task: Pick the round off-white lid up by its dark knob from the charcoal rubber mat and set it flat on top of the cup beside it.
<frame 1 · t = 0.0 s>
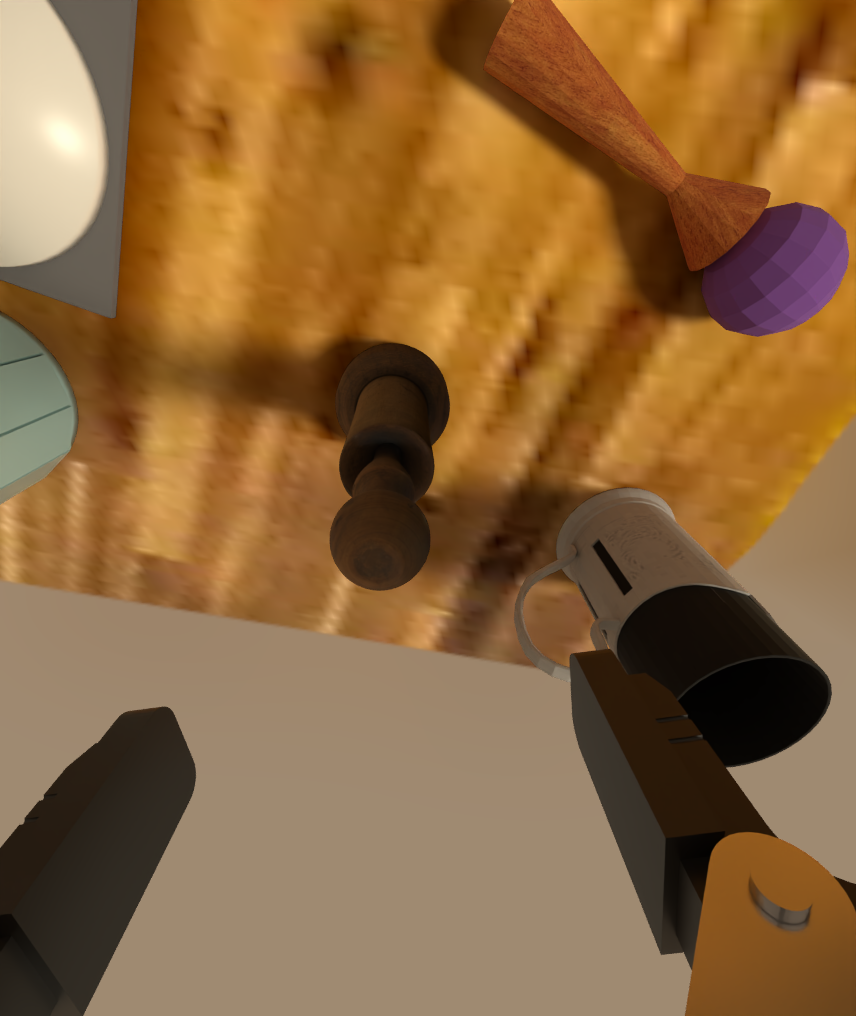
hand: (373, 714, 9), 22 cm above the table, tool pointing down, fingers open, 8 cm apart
glass holder: (579, 535, 34), on the table
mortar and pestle: (393, 397, 29), on the table
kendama: (646, 188, 25), on the table
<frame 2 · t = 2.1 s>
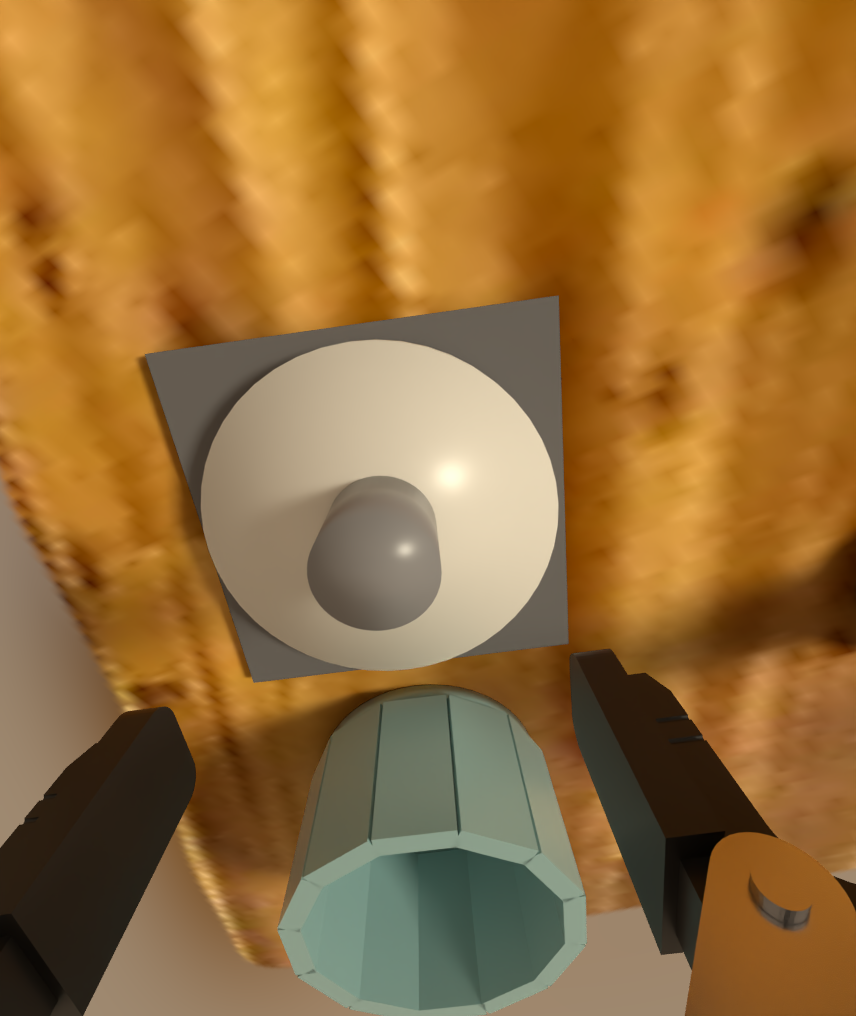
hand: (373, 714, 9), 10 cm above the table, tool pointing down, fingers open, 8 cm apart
mat: (384, 512, 19), on the table
cup: (429, 768, 24), on the table
lid: (383, 517, 18), resting on mat
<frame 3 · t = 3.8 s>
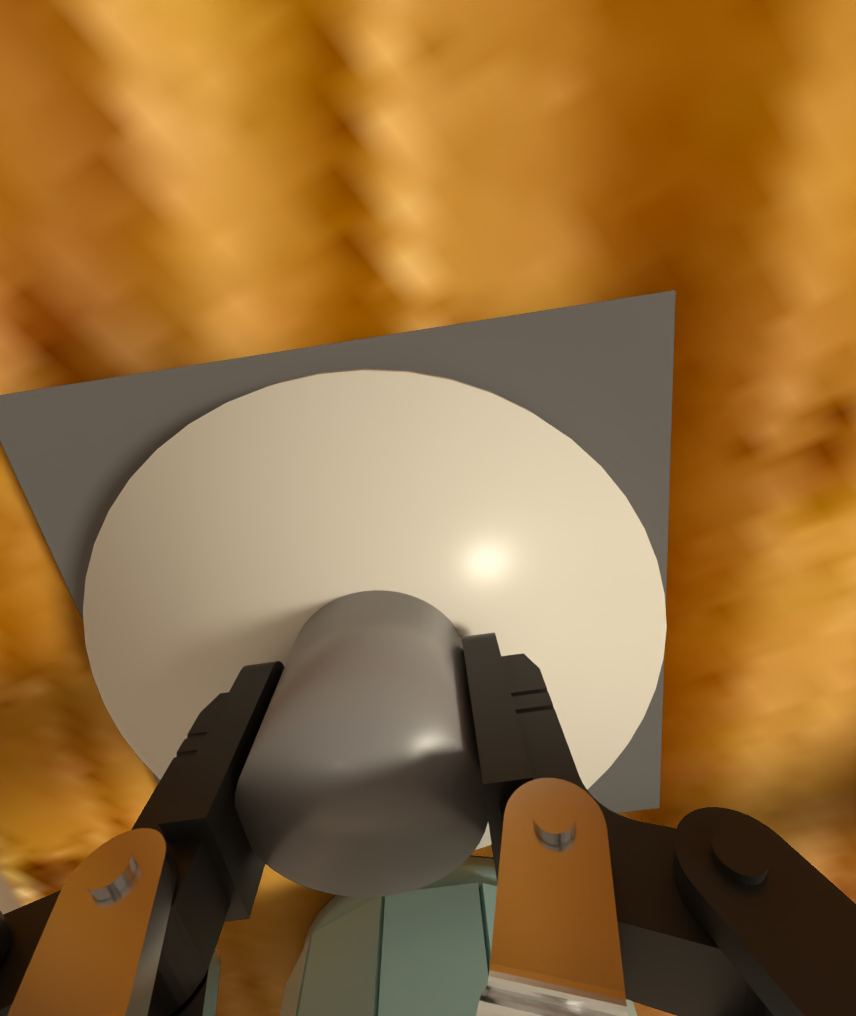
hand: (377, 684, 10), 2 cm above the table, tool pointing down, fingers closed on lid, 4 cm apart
mat: (383, 629, 12), on the table
cup: (452, 958, 17), on the table
lid: (383, 641, 12), point 1 cm above the table, touching gripper, mat
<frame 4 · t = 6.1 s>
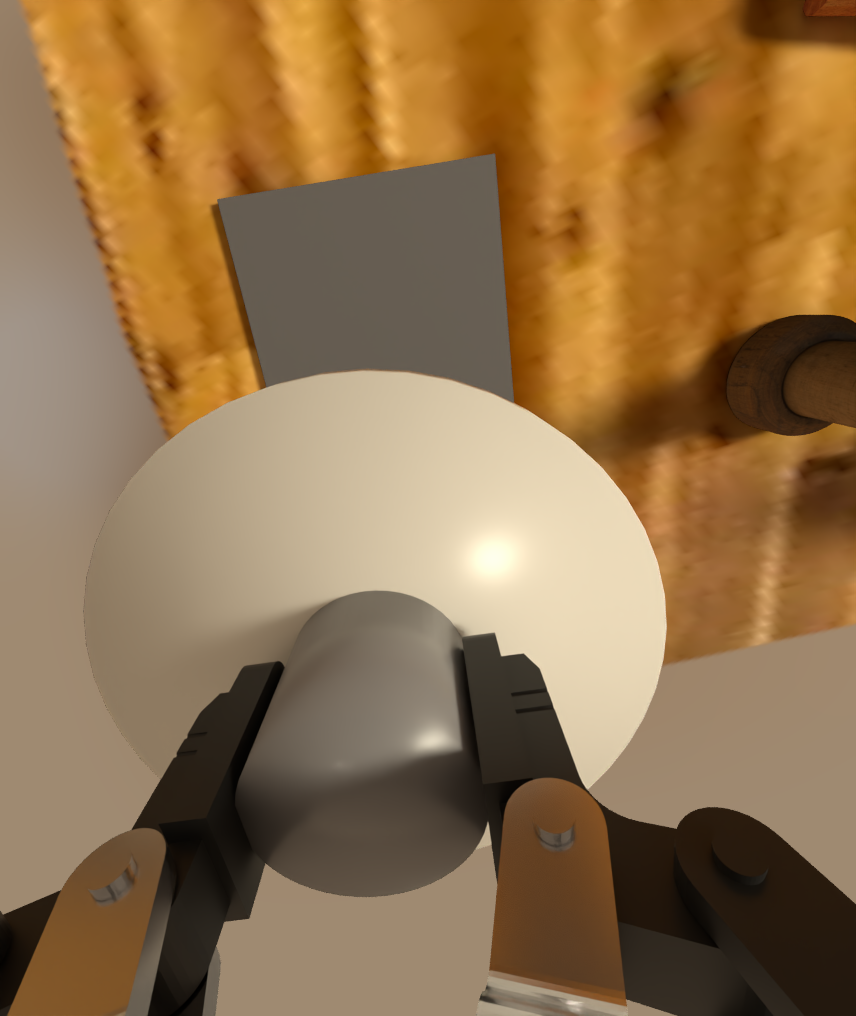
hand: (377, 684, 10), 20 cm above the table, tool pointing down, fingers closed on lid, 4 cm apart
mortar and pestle: (779, 374, 28), on the table
mat: (380, 326, 26), on the table
lid: (383, 641, 12), point 19 cm above the table, touching gripper
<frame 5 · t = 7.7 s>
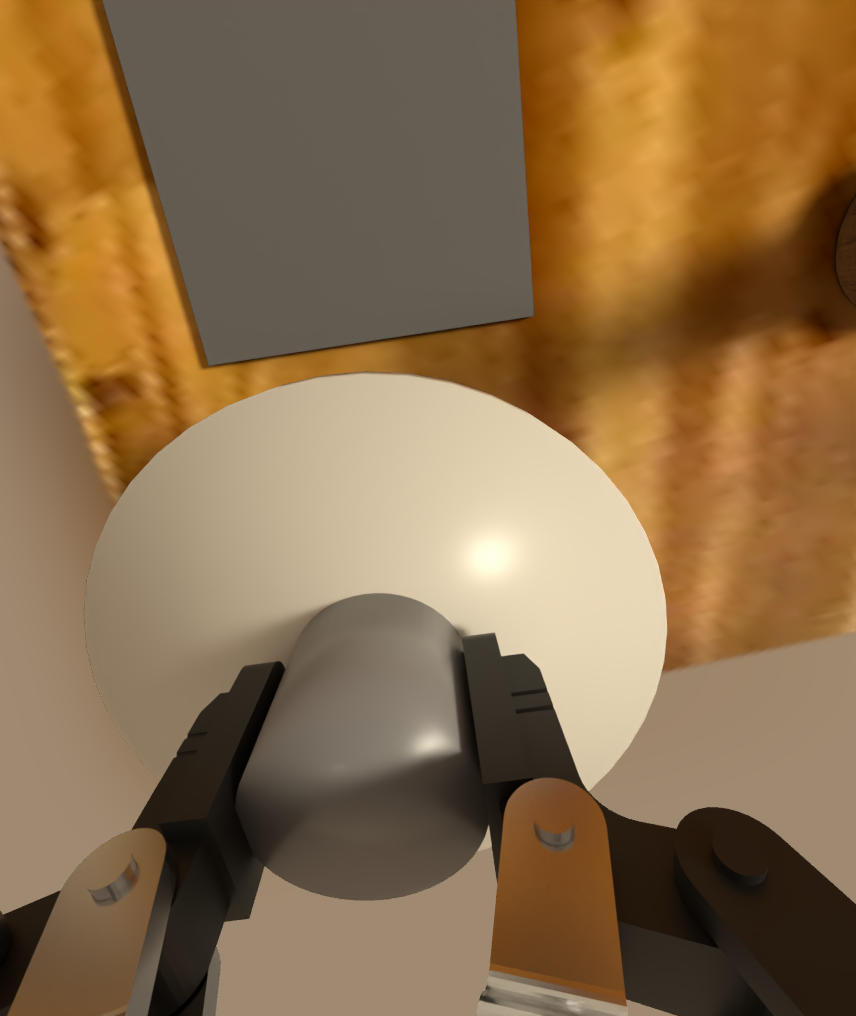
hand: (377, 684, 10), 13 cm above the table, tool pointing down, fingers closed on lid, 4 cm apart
mat: (337, 149, 18), on the table
lid: (383, 643, 12), point 12 cm above the table, touching gripper
when the fingers open (10 cm above the table, at t = 8.7 s): lid drops 1 cm, resting on cup.
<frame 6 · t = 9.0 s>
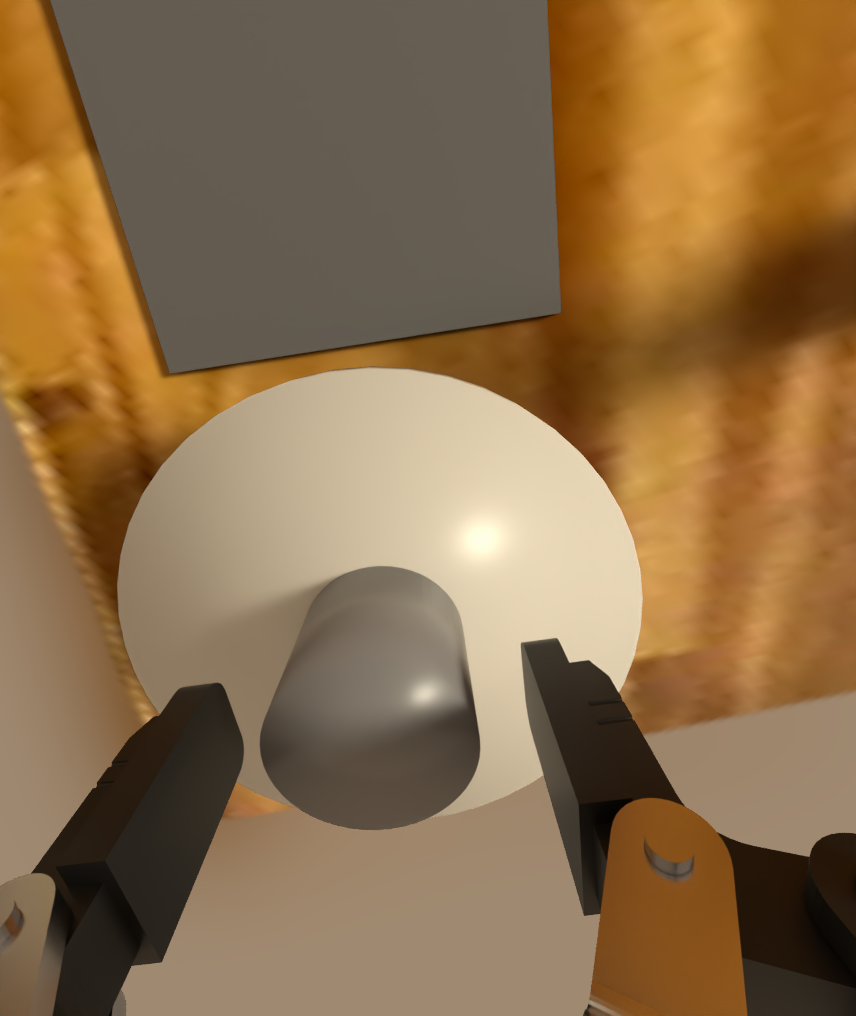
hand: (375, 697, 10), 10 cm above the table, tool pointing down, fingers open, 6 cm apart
mat: (321, 108, 15), on the table
lid: (386, 615, 13), point 7 cm above the table, touching cup
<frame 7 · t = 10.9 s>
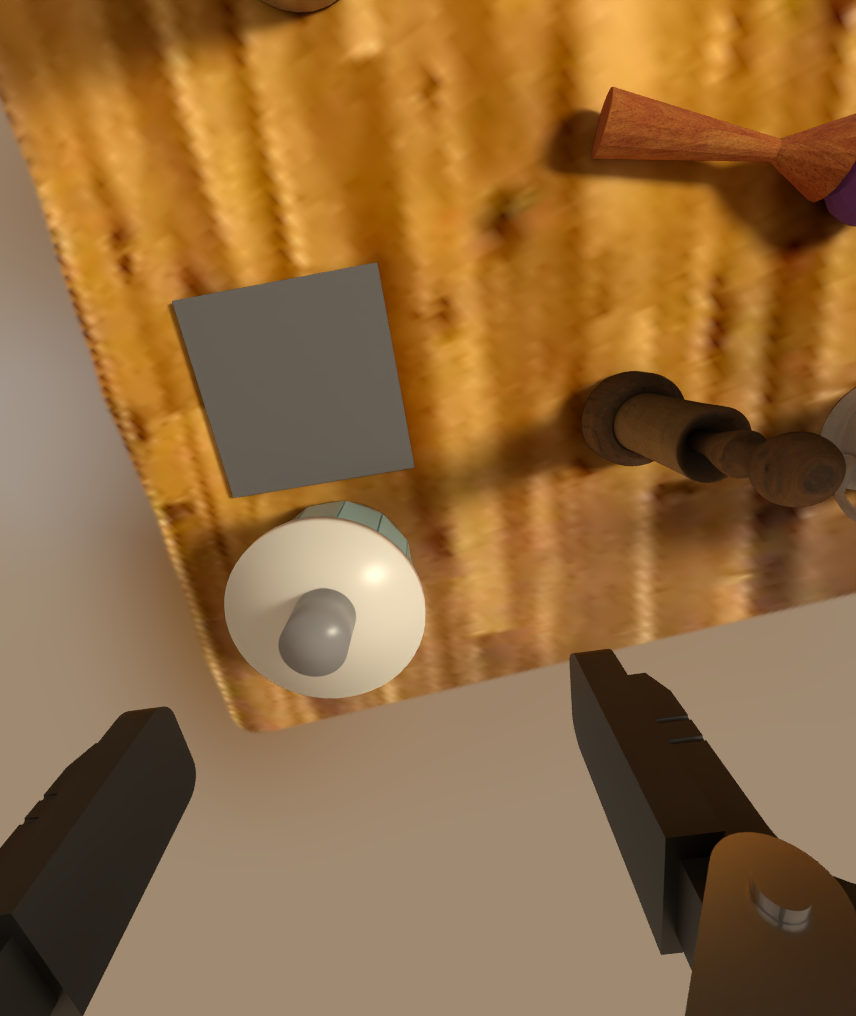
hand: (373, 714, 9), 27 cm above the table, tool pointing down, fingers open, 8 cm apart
glass holder: (838, 446, 36), on the table
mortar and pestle: (624, 416, 35), on the table
mat: (301, 388, 34), on the table
cup: (344, 563, 38), on the table
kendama: (741, 166, 30), on the table
lid: (328, 607, 31), point 7 cm above the table, touching cup
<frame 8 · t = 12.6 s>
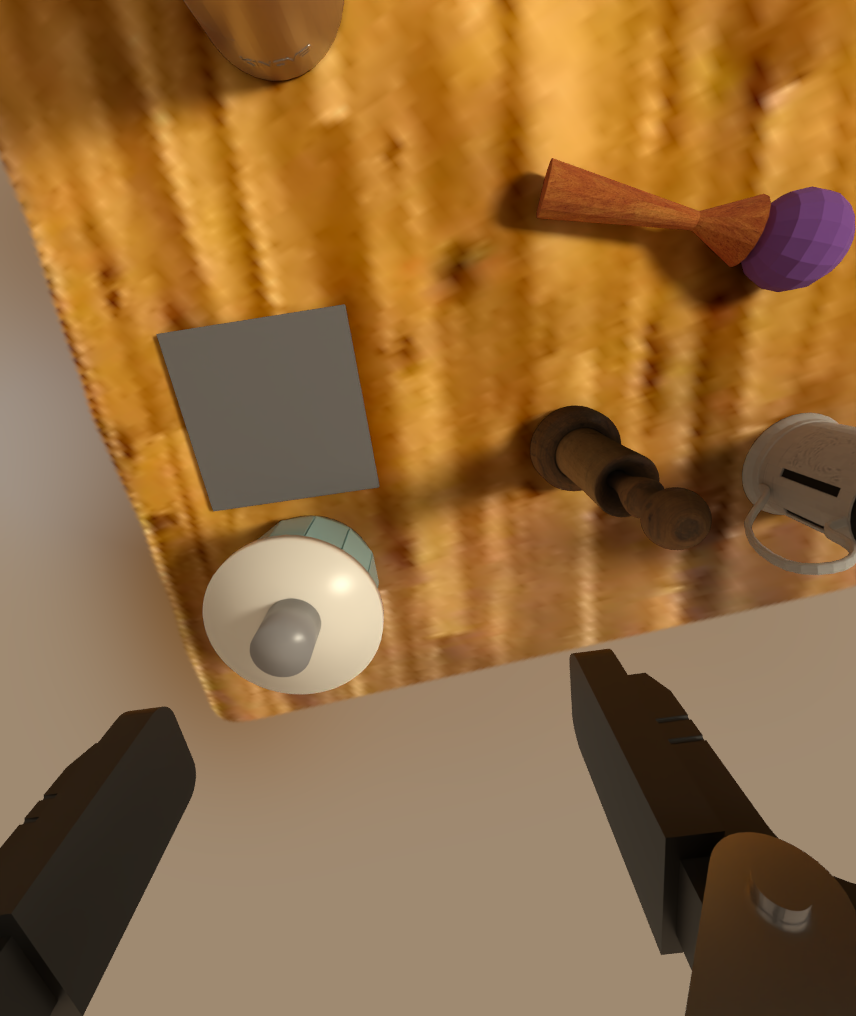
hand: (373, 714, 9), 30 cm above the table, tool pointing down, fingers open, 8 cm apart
glass holder: (760, 475, 40), on the table
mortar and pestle: (569, 445, 39), on the table
mat: (275, 414, 37), on the table
cup: (315, 571, 42), on the table
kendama: (670, 228, 34), on the table
lid: (296, 614, 35), point 7 cm above the table, touching cup
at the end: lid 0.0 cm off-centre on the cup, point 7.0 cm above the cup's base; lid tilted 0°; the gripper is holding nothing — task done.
